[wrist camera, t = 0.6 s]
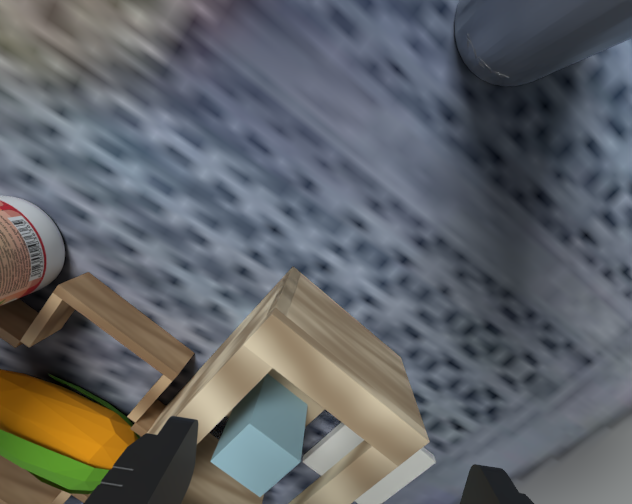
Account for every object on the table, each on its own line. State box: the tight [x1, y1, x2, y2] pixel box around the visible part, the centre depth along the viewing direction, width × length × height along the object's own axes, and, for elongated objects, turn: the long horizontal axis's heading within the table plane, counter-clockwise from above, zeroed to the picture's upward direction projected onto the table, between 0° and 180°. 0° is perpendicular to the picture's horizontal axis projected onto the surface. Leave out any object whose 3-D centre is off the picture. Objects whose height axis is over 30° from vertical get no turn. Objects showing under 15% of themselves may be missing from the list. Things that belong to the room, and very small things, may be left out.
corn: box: [0, 369, 140, 494], centre depth 32 cm, size 7×8×20 cm
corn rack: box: [0, 272, 194, 504], centre depth 33 cm, size 28×28×4 cm
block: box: [210, 373, 308, 497], centre depth 27 cm, size 5×5×6 cm
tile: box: [303, 422, 436, 504], centre depth 34 cm, size 10×10×1 cm
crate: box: [147, 267, 430, 504], centre depth 28 cm, size 22×14×10 cm, turn 139°
